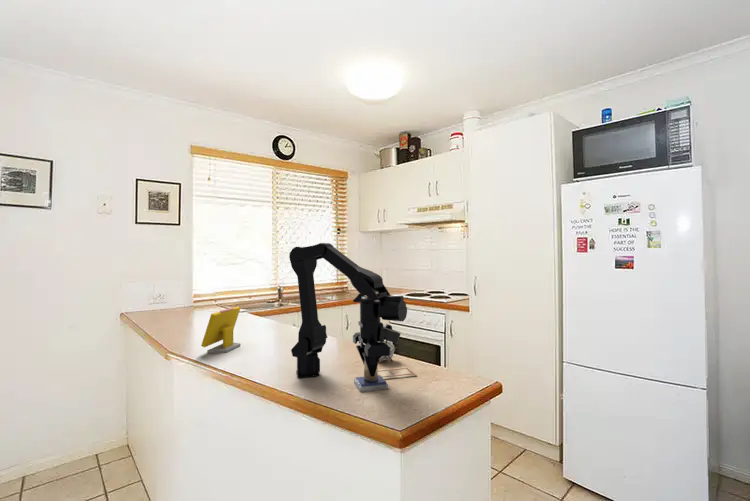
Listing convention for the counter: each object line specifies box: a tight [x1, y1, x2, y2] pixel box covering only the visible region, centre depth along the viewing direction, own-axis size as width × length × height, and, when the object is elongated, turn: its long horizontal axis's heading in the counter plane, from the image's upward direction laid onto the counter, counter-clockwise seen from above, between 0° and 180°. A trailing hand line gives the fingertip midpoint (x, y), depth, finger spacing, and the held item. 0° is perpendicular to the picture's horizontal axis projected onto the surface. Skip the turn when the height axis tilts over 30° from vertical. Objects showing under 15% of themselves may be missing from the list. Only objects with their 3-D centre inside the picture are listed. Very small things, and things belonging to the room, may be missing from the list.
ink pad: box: [353, 375, 389, 392], centre depth 109 cm, size 8×7×2 cm
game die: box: [378, 340, 399, 364], centre depth 134 cm, size 9×8×10 cm
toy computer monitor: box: [201, 306, 241, 354], centre depth 153 cm, size 20×8×16 cm, turn 172°
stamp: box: [363, 360, 379, 382], centre depth 109 cm, size 4×4×7 cm
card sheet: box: [378, 366, 418, 381], centre depth 119 cm, size 13×9×1 cm
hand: (370, 374), depth 109 cm, fingers closed on stamp, 4 cm apart
